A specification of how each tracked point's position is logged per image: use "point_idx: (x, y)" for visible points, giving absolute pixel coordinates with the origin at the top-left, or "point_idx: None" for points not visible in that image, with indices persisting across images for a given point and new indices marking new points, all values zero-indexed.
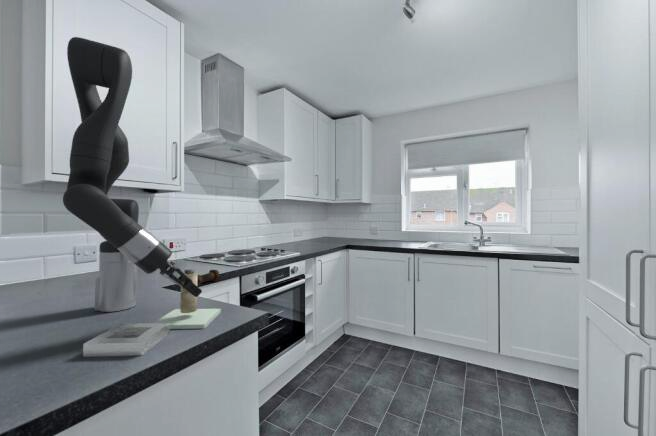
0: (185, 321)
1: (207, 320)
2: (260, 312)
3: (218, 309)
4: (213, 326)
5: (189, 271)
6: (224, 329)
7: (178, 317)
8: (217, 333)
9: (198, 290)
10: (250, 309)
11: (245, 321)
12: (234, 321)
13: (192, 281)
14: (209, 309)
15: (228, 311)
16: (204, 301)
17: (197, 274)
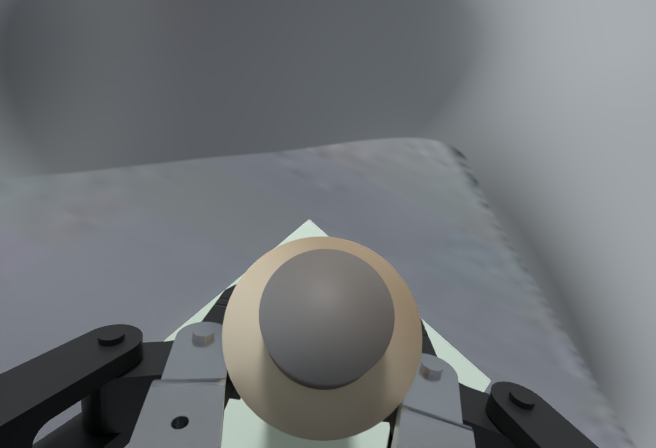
0: (386, 436)
1: (441, 342)
2: (423, 141)
3: (313, 231)
4: (476, 339)
5: (388, 340)
6: (537, 323)
7: (287, 437)
8: (571, 368)
9: (422, 326)
10: (364, 142)
11: (490, 224)
12: (465, 250)
13: (531, 392)
14: None
15: (324, 203)
16: (81, 195)
17: (368, 255)
